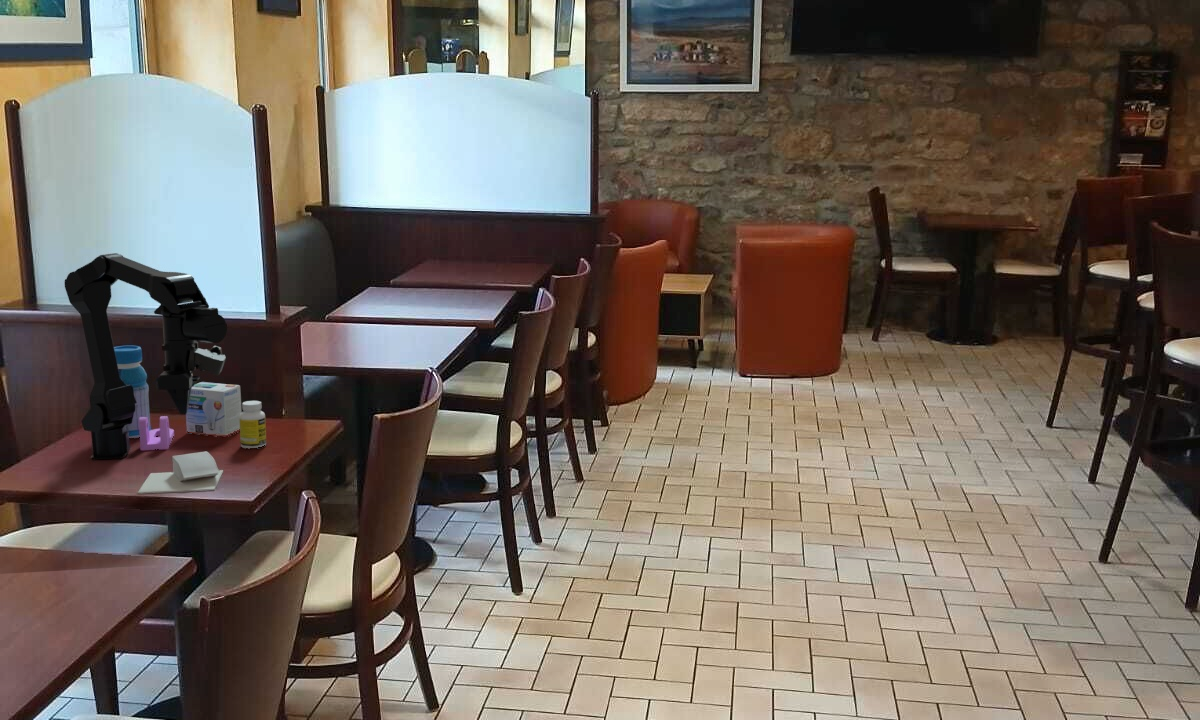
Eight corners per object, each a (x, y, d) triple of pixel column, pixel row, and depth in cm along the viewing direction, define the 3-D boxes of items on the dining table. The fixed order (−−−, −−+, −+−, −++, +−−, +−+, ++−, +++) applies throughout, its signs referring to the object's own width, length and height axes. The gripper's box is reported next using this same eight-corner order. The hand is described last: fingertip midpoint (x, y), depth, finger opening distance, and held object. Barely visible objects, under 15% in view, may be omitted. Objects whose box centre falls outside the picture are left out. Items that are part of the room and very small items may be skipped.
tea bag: (172, 456, 230) (183, 469, 221) (206, 451, 233) (219, 464, 225) (173, 473, 230) (184, 487, 222) (207, 468, 234) (220, 482, 226)
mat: (138, 493, 219) (137, 492, 219) (150, 474, 231) (150, 473, 231) (214, 490, 222) (214, 488, 221) (223, 471, 233) (223, 470, 233)
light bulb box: (185, 433, 260) (182, 387, 258) (204, 426, 267) (201, 381, 264) (226, 438, 257) (223, 391, 255) (244, 430, 264) (241, 384, 261)
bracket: (168, 449, 248) (165, 418, 247) (140, 451, 247) (138, 419, 246) (175, 433, 261) (173, 403, 259) (149, 434, 259) (147, 405, 258)
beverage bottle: (143, 440, 255) (136, 352, 250) (105, 439, 255) (97, 351, 250) (157, 429, 263) (151, 344, 259) (120, 429, 263) (114, 344, 259)
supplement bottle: (262, 449, 248) (260, 405, 246) (237, 449, 248) (235, 405, 246) (269, 442, 254) (267, 399, 252) (245, 442, 254) (242, 399, 252)
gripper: (213, 346, 220) (217, 425, 223) (228, 328, 238) (232, 401, 241) (152, 347, 218) (157, 426, 221) (172, 329, 236) (176, 402, 239)
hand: (183, 413), depth 231 cm, fingers closed
